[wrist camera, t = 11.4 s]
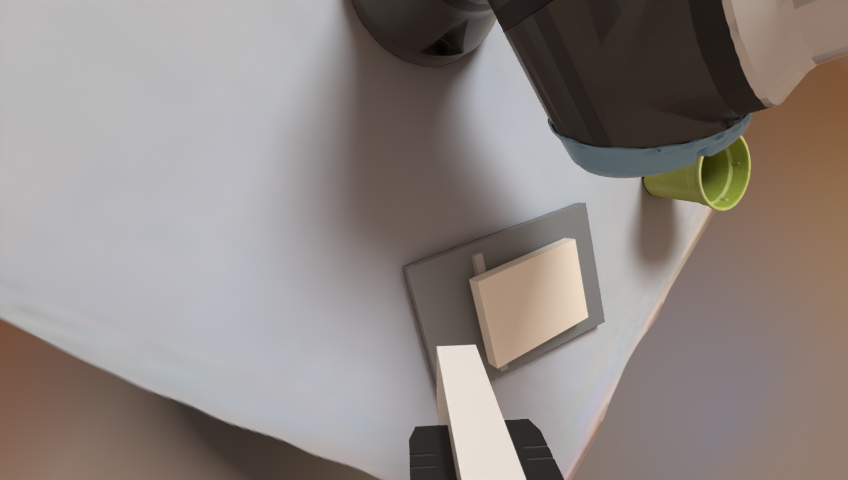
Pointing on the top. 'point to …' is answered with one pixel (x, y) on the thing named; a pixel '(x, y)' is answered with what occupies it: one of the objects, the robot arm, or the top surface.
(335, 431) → the top surface
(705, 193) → the plant pot
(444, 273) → the board
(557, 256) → the tile
